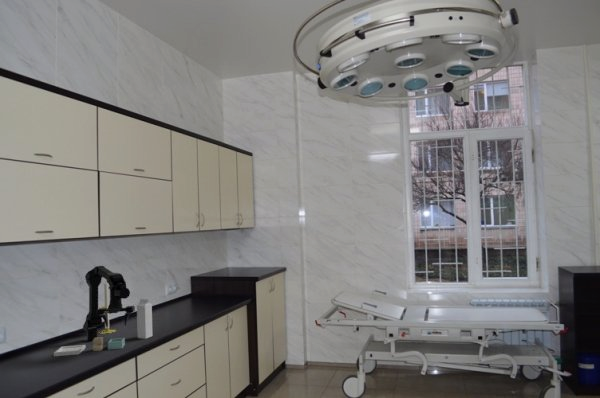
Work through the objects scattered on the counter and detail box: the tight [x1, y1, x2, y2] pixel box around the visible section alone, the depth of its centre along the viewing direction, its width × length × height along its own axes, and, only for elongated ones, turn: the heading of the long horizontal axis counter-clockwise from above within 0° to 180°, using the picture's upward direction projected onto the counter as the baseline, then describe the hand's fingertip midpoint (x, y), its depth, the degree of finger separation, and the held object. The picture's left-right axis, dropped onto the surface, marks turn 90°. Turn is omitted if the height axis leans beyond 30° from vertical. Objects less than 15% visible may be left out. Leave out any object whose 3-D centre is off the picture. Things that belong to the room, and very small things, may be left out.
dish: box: [53, 344, 86, 357], centre depth 241 cm, size 12×12×2 cm
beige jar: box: [92, 336, 104, 352], centre depth 244 cm, size 4×4×6 cm
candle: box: [98, 280, 117, 335], centre depth 285 cm, size 10×10×32 cm
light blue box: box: [107, 337, 126, 351], centre depth 247 cm, size 7×7×4 cm
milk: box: [136, 298, 153, 340], centre depth 267 cm, size 6×6×22 cm
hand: (116, 326), depth 247 cm, fingers open, 9 cm apart
